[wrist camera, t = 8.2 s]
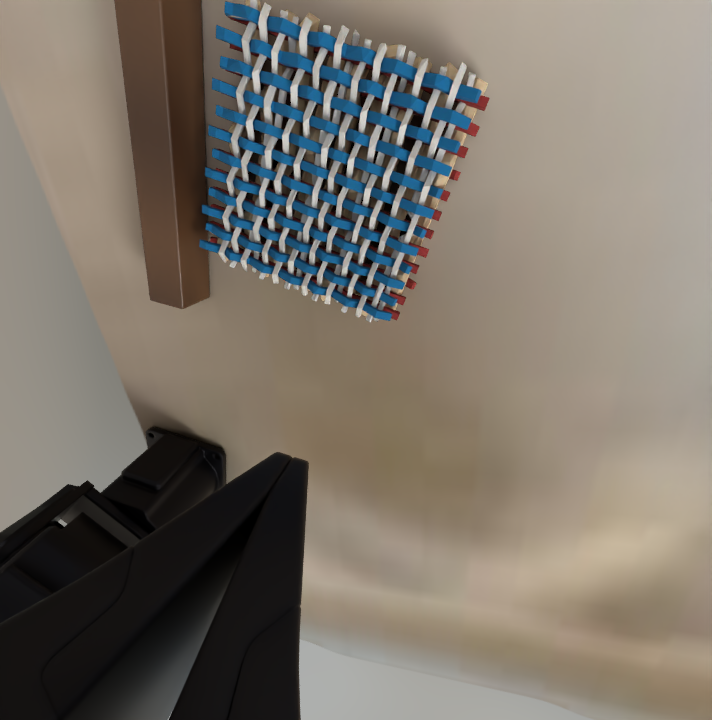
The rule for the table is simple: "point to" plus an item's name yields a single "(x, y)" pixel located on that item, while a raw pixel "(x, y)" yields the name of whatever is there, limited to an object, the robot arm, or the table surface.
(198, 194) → the bar
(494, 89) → the table surface
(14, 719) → the robot arm
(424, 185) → the woven mat
